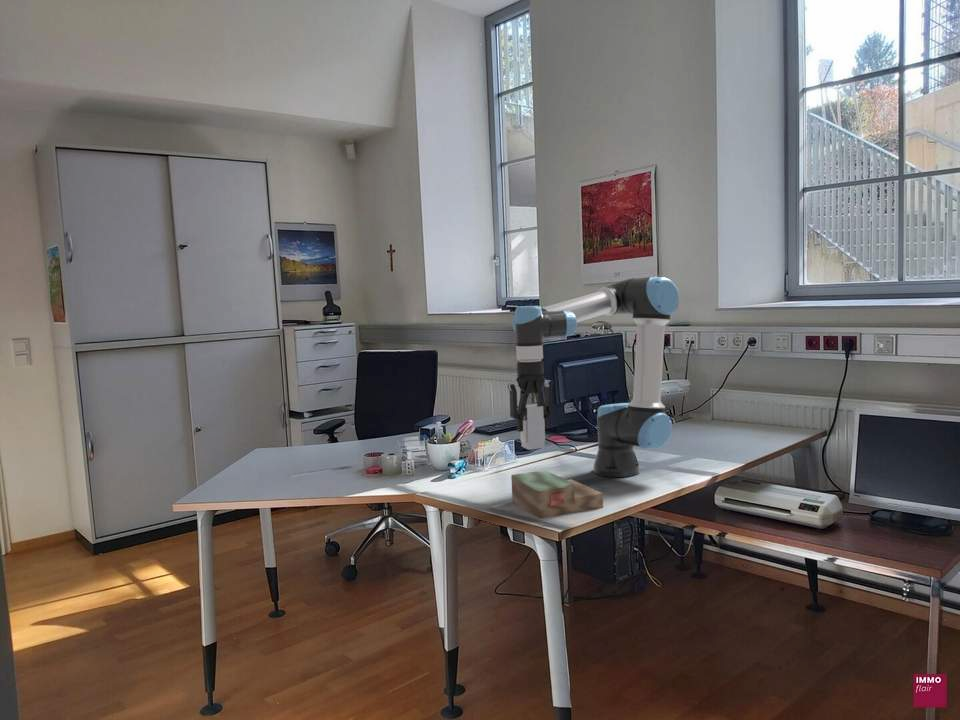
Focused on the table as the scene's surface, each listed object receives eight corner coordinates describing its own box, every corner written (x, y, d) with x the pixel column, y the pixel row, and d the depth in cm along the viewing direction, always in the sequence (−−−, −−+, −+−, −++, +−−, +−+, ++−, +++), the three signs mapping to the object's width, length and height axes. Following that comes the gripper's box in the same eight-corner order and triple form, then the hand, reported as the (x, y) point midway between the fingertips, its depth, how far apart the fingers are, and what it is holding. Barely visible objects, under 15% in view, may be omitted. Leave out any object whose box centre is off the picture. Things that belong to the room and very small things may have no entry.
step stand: (572, 492, 222) (571, 466, 221) (604, 507, 205) (603, 479, 204) (512, 501, 215) (511, 474, 214) (540, 518, 198) (539, 489, 197)
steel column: (537, 444, 212) (535, 403, 211) (544, 447, 207) (543, 406, 206) (521, 446, 210) (519, 405, 209) (528, 449, 206) (526, 407, 205)
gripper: (552, 357, 213) (555, 435, 215) (495, 361, 207) (498, 442, 209) (564, 359, 206) (567, 440, 208) (505, 363, 200) (508, 447, 202)
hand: (532, 441), depth 209 cm, fingers closed on steel column, 5 cm apart
